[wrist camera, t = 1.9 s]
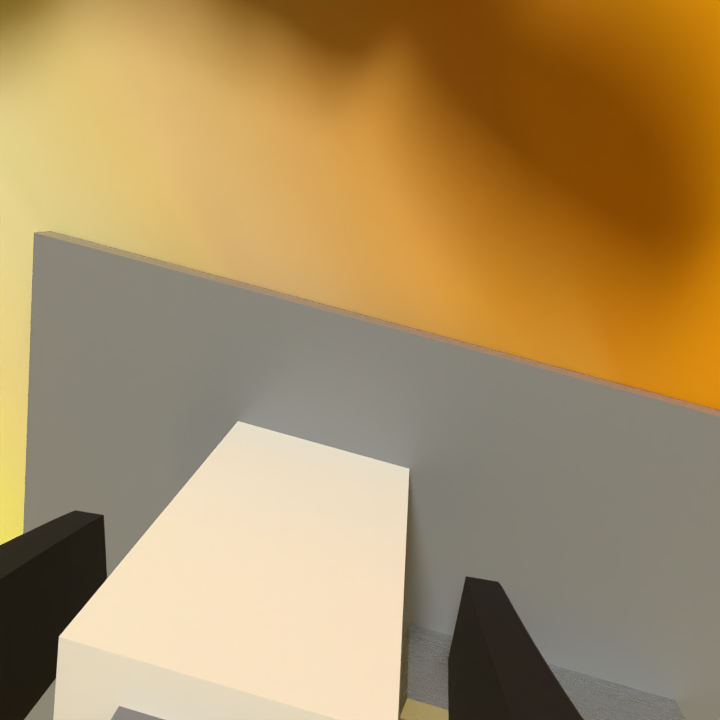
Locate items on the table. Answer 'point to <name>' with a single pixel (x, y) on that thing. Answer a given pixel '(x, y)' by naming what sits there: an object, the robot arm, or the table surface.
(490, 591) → the robot arm
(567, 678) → the end holder
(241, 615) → the block
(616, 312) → the table surface
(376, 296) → the table surface
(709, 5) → the table surface
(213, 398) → the board
